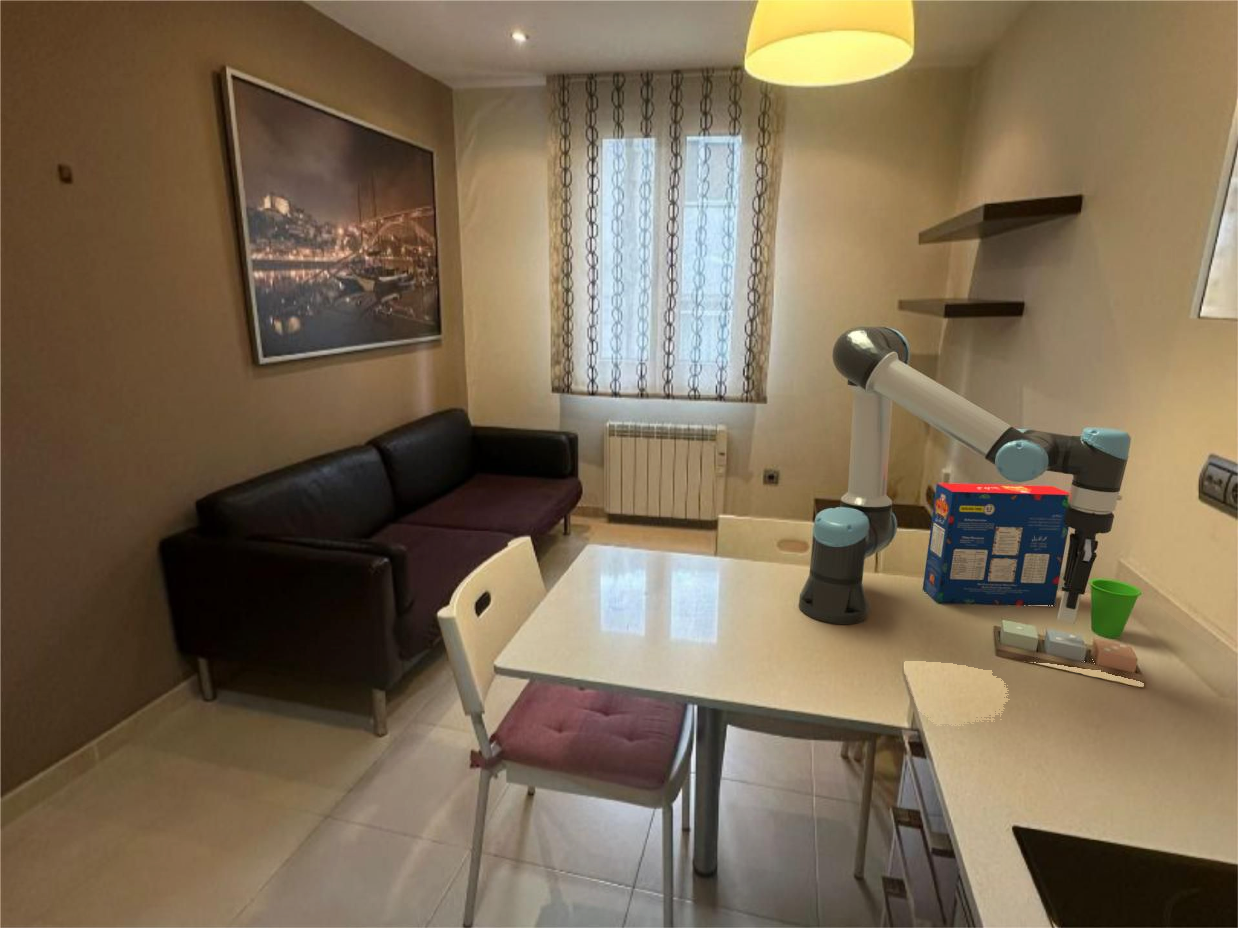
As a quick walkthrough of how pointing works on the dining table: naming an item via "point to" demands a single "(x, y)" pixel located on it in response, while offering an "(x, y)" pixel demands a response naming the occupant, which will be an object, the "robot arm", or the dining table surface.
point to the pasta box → (996, 544)
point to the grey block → (1064, 645)
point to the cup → (1111, 606)
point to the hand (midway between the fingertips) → (1065, 620)
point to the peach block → (1113, 655)
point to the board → (1045, 658)
